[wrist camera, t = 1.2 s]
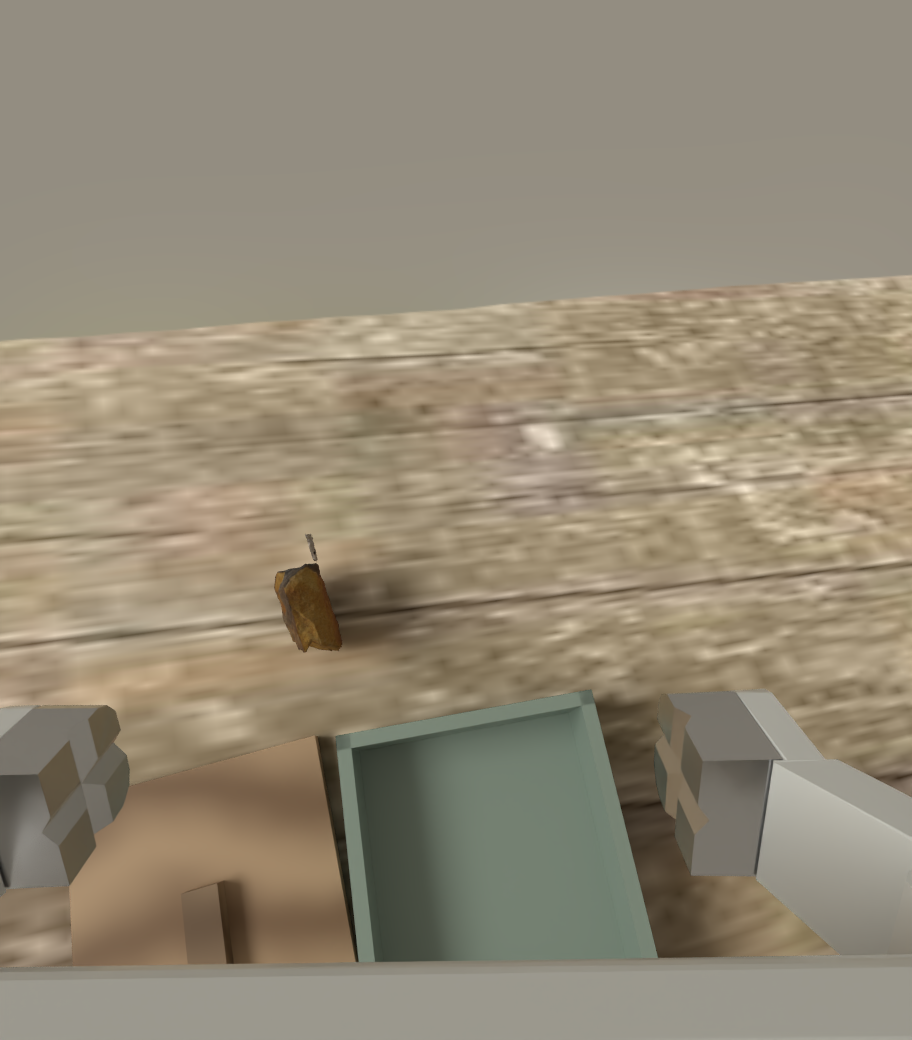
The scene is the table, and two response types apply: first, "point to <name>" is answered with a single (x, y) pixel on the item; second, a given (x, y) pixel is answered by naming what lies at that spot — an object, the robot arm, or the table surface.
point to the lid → (218, 869)
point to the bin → (490, 838)
